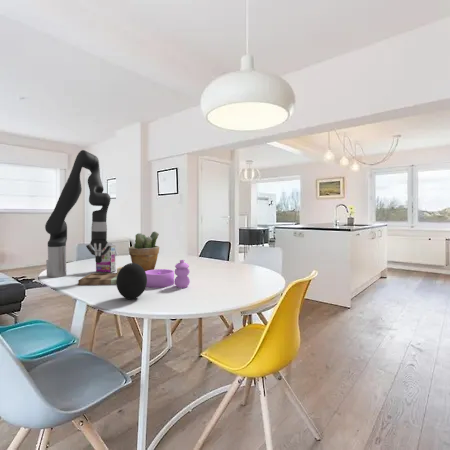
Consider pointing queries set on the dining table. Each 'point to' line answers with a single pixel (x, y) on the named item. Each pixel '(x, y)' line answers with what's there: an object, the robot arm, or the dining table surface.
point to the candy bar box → (107, 261)
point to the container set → (169, 276)
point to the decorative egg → (131, 281)
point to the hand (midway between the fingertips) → (98, 262)
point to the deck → (98, 279)
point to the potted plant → (145, 251)
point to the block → (118, 269)
